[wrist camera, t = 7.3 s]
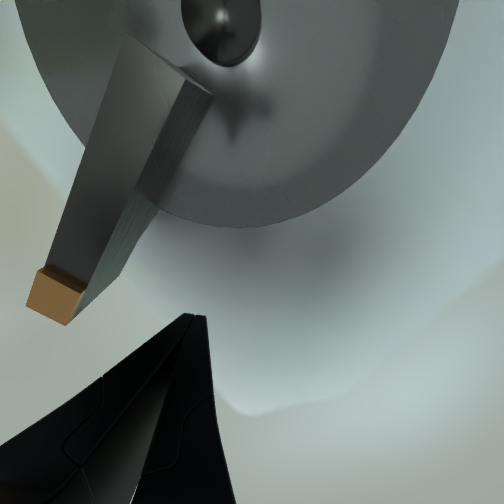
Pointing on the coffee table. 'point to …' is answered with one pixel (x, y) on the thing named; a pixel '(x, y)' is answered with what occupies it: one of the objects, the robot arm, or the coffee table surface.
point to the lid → (217, 113)
